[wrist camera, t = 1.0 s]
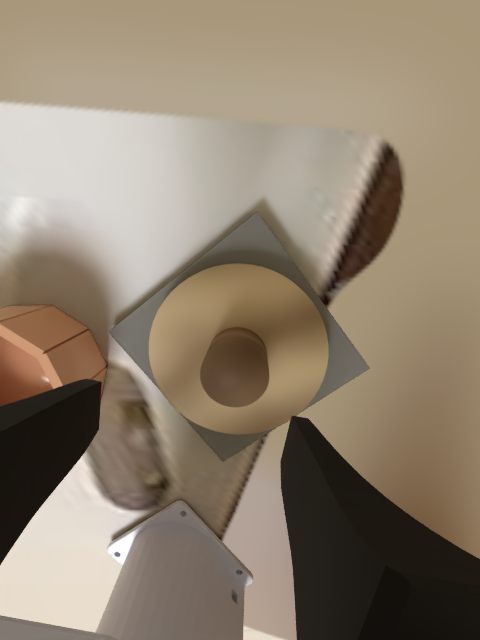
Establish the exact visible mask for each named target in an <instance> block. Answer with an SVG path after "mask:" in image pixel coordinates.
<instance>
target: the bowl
mask: <svg viewBox="0 0 480 640" xmlns="http://www.w3.org/2000/svg"><path fill="white" fill-rule="evenodd" d="M87 329H88V328H87V327H86V326H84V325H82V324H81V323H79V322H78V321H76V320H74V319H73V318H71V317H70V316H68V315H67V314H65V313H63V312H62V311H60V310H59V309H57V308H56V307H54V306H51V305H23V306H8V307H5V308H1V309H0V406H3V405H6V404H9V403H13V402H16V401H19V400H22V399H25V398H29V397H32V396H35V395H37V394H40V393H43V392H46V391H49V390H52V389H55V388H57V387H60V386H63V385H66V384H69V383H72V382H75V381H79V380H82V379H90V380H96V381H101V382H102V386H101V396H102V391H103V386H104V381H105V376H106V370H107V367H105V366H107V365H106V363H105V361H104V358H103V356H102V354H101V352H100V350H99V348H98V346H97V344H96V342H95V340H94V338H93V336H92V334H91V332H90V330H88V331H87Z"/></svg>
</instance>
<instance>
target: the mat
mask: <svg viewBox="0 0 480 640" xmlns="http://www.w3.org/2000/svg"><path fill="white" fill-rule="evenodd" d="M232 263H244V264H253V265H258V266H262V267H265V268H268V269H271V270H274V271H276V272H278V273H280V274H282V275H284V276H285V277H287V278H288V279H289V280H291V281H292V282H294V283H295V284H296V285H297V286H298V287H299V288H300V289H301V290H303V291H304V292H305V294H306V295H307V296H308V297H309V298H310V300H311V301H312V302H313V303H314V305H315V307H316V308H317V310H318V311H319V313H320V316H321V318H322V320H323V322H324V326H325V329H326V332H327V338H328V345H329V357H328V364H327V369H326V373H325V376H324V379H323V381H322V384H321V386H320V388H319V390H318V392H317V393H316V395H315V396H314V398H313V399H312V400H311V402H310V403H309V404H308V405H307V406H306V407H305V408H304V409H303V410H305V409H307V408H308V407H310V406H311V405H313V404H315V403H316V402H318V401H319V400H321V399H322V398H324V397H326V396H327V395H329V394H330V393H332V392H333V391H335V390H337V389H338V388H340V387H341V386H343V385H344V384H346V383H348V382H349V381H351V380H352V379H354V378H355V377H357V376H359V375H360V374H362V373H363V372H365V371H366V370H368V369H369V366H368V365H367V364H366V362H365V361H364V359H363V358H362V357H361V355H360V354H359V352H358V351H357V350H356V348H355V347H354V345H353V344H352V343H351V341H350V340H349V339H348V337H347V336H346V334H345V333H344V332H343V330H342V329H341V327H340V326H339V325H338V323H337V322H336V320H335V319H334V318H333V316H332V315H331V314H330V312H329V311H328V309H327V308H326V307H325V305H324V304H323V302H322V301H321V300H320V298H319V297H318V295H317V294H316V293H315V291H314V290H313V289H312V287H311V286H310V284H309V283H308V282H307V280H306V279H305V277H304V276H303V275H302V273H301V272H300V270H299V269H298V268H297V266H296V265H295V263H294V262H293V261H292V259H291V258H290V257H289V255H288V254H287V252H286V251H285V250H284V248H283V247H282V245H281V244H280V243H279V241H278V240H277V238H276V237H275V236H274V234H273V233H272V232H271V230H270V229H269V227H268V226H267V225H266V223H265V222H264V220H263V219H262V218H261V216H260V215H259V213H258V212H256V213H255V214H254V215H252V216H251V217H250V218H249V219H247V220H246V221H245V222H244V223H243V224H241V225H240V226H239V227H238V228H236V229H235V230H234V231H233V232H231V233H230V234H229V235H228V236H226V237H225V238H224V239H223V240H221V241H220V242H219V243H218V244H217V245H215V246H214V247H213V248H212V249H210V250H209V251H208V252H207V253H205V254H204V255H203V256H202V257H200V258H199V259H198V260H197V261H195V262H194V263H193V264H192V265H191V266H189V267H188V268H187V269H186V270H184V271H183V272H182V273H181V274H179V275H178V276H177V277H176V278H174V279H173V280H172V281H171V282H169V283H168V284H167V285H166V286H164V287H163V288H162V289H161V290H160V291H158V292H157V293H156V294H155V295H153V296H152V297H151V298H150V299H148V300H147V301H146V302H145V303H143V304H142V305H141V306H140V307H138V308H137V309H136V310H135V311H134V312H132V313H131V314H130V315H129V316H127V317H126V318H125V319H124V320H122V321H121V322H120V323H119V324H117V325H116V326H115V327H114V328H112V329H111V330H110V331H109V333H110V334H111V335H112V337H113V338H114V339H115V340H116V341H117V342H118V343H119V345H120V346H121V347H122V348H123V349H124V350H125V351H126V352H127V354H128V355H129V356H130V357H131V358H132V359H133V360H134V361H135V363H136V364H137V365H138V366H139V367H140V368H141V369H142V370H143V372H144V373H145V374H146V375H147V376H148V377H149V378H150V380H151V381H152V382H153V383H154V384H155V385H156V386H157V387H158V385H157V383H156V380H155V378H154V376H153V372H152V369H151V365H150V359H149V337H150V331H151V327H152V324H153V320H154V318H155V316H156V313H157V311H158V309H159V308H160V306H161V305H162V303H163V301H164V300H165V299H166V298H167V296H168V295H169V294H170V293H171V292H172V291H173V290H174V289H175V288H176V287H177V286H178V285H179V284H180V283H182V282H183V281H185V280H186V279H188V278H189V277H191V276H193V275H195V274H197V273H199V272H201V271H203V270H205V269H208V268H211V267H214V266H218V265H223V264H232ZM158 389H159V390H160V388H159V387H158ZM160 391H161V390H160ZM303 410H302V411H303ZM302 411H301V412H302ZM181 415H182V414H181ZM182 416H183V415H182ZM183 417H184V418H185V419H186V420H187V421H188V422H189V424H190V425H191V426H192V427H193V428H194V429H195V430H196V431H197V433H198V434H199V435H200V436H201V437H202V438H203V439H204V441H205V442H206V443H207V444H208V445H209V446H210V447H211V448H212V450H213V451H214V452H215V453H216V454H217V455H218V456H219V457H220V459H221V460H222V461H225V460H226V459H228V458H230V457H231V456H233V455H234V454H236V453H237V452H239V451H241V450H242V449H244V448H245V447H247V446H248V445H250V444H252V443H253V442H255V441H256V440H258V439H259V438H261V437H263V436H264V435H266V434H267V433H269V432H270V431H272V430H274V429H275V428H276V427H275V428H273V429H271V430H267V431H263V432H260V433H253V434H227V433H221V432H216V431H213V430H210V429H207V428H204V427H202V426H200V425H198V424H196V423H194V422H192V421H191V420H189V419H187V418H186V417H185V416H183Z"/></svg>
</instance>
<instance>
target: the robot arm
mask: <svg viewBox="0 0 480 640" xmlns="http://www.w3.org/2000/svg"><path fill="white" fill-rule="evenodd" d="M101 386H102V382H101V381H96V380H90V379H82V380H79V381H75V382H72V383H69V384H66V385H63V386H60V387H57V388H55V389H52V390H49V391H46V392H43V393H40V394H37V395H35V396H32V397H29V398H25V399H22V400H19V401H16V402H13V403H9V404H6V405H3V406H0V565H1V563H2V562H3V560H4V558H5V557H6V555H7V554H8V552H9V551H10V549H11V548H12V546H13V545H14V543H15V542H16V540H17V539H18V538H19V536H20V535H21V533H22V532H23V530H24V529H25V527H26V526H27V524H28V523H29V521H30V520H31V519H32V517H33V516H34V515H35V513H36V512H37V511H38V509H39V508H40V507H41V506H42V504H43V503H44V502H45V501H46V499H47V498H48V497H49V496H50V495H51V493H52V492H53V491H54V490H55V488H56V487H57V486H58V485H59V484H60V482H61V481H62V480H63V479H64V477H65V476H66V475H67V474H68V473H69V471H70V470H71V469H72V468H73V466H74V465H75V464H76V463H77V461H78V460H79V459H80V458H81V456H82V455H83V454H84V452H85V451H86V449H87V448H88V446H89V445H90V443H91V441H92V440H93V438H94V436H95V435H96V433H97V431H98V430H99V418H100V402H101ZM281 489H282V496H283V503H284V510H285V516H286V523H287V529H288V536H289V542H290V549H291V556H292V565H293V577H294V593H295V610H296V630H297V640H480V559H479V558H477V557H475V556H473V555H471V554H470V553H468V552H466V551H464V550H462V549H461V548H459V547H457V546H456V545H454V544H452V543H451V542H449V541H448V540H446V539H445V538H443V537H441V536H440V535H438V534H437V533H435V532H433V531H432V530H430V529H429V528H427V527H426V526H424V525H423V524H422V523H420V522H419V521H417V520H415V519H414V518H413V517H411V516H410V515H409V514H407V513H406V512H404V511H403V510H402V509H400V508H399V507H398V506H396V505H395V504H394V503H393V502H391V501H390V500H389V499H387V498H386V497H385V496H384V495H383V494H381V493H380V492H379V491H378V490H377V489H375V488H374V487H373V486H372V485H371V484H370V483H369V482H367V481H366V480H365V479H364V478H363V477H362V476H361V475H360V474H359V473H358V472H357V471H356V470H354V468H353V467H352V466H351V465H350V464H349V463H348V462H347V461H346V460H345V459H344V458H343V457H342V456H341V455H340V454H339V453H338V452H337V451H336V450H335V449H334V447H333V446H332V445H331V444H330V443H329V442H328V441H327V440H326V438H325V437H324V436H323V435H322V434H321V433H320V432H319V430H318V429H317V428H316V427H315V426H314V424H313V423H312V422H311V421H310V420H309V419H308V418H303V417H297V416H292V417H291V421H290V425H289V429H288V433H287V437H286V442H285V446H284V450H283V454H282V458H281ZM182 511H185V512H182ZM107 550H108V552H109V553H110V554H111V555H112V556H113V557H114V558H115V559H116V560H117V561H118V562H119V563H120V564H121V565H122V566H123V567H122V569H121V571H120V574H119V576H118V579H117V581H116V584H115V586H114V589H113V591H112V594H111V596H110V598H109V601H108V603H107V606H106V608H105V611H104V613H103V616H102V618H101V621H100V623H99V625H98V628H97V630H96V633H93V632H88V631H82V630H77V629H72V628H66V627H61V626H55V625H50V624H44V623H39V622H33V621H28V620H22V619H17V618H11V617H6V616H0V640H243V619H244V587H245V586H247V585H249V584H251V583H252V582H253V574H252V573H251V572H250V571H249V570H248V569H247V568H246V567H245V566H244V565H243V563H242V562H241V561H240V560H239V559H238V558H237V557H236V556H235V555H234V554H233V553H232V552H231V551H230V550H229V549H228V548H227V547H226V545H224V543H223V542H222V541H221V540H220V539H219V538H218V537H217V536H216V535H215V534H214V533H213V532H212V531H211V530H210V529H209V528H208V526H207V525H206V524H205V523H204V522H203V521H202V520H201V519H200V518H199V517H198V516H197V515H196V514H195V513H194V512H193V511H192V510H191V508H190V507H189V506H188V505H187V504H186V503H185V502H183V501H181V500H178V501H176V502H174V503H172V504H171V505H169V506H168V507H166V508H164V509H163V510H161V511H160V512H158V513H156V514H155V515H153V516H152V517H150V518H148V519H147V520H145V521H144V522H142V523H141V524H139V525H137V526H136V527H134V528H133V529H131V530H129V531H128V532H126V533H125V534H123V535H121V536H120V537H118V538H117V539H115V540H113V541H112V542H110V543H109V545H108V548H107Z"/></svg>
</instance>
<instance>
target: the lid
mask: <svg viewBox="0 0 480 640" xmlns="http://www.w3.org/2000/svg"><path fill="white" fill-rule="evenodd" d="M328 357H329V345H328V338H327V332H326V329H325V326H324V322H323V320H322V318H321V316H320V313H319V311H318V310H317V308H316V307H315V305H314V303H313V302H312V301H311V300H310V298H309V297H308V296H307V295H306V294H305V292H304V291H303V290H301V289H300V288H299V287H298V286H297V285H296V284H295V283H294V282H292V281H291V280H289V279H288V278H287V277H285V276H284V275H282V274H280V273H278V272H276V271H274V270H271V269H268V268H265V267H262V266H258V265H253V264H244V263H232V264H223V265H218V266H214V267H211V268H208V269H205V270H203V271H201V272H199V273H197V274H195V275H193V276H191V277H189V278H188V279H186V280H185V281H183V282H182V283H180V284H179V285H178V286H177V287H176V288H175V289H174V290H173V291H172V292H171V293H170V294H169V295H168V296H167V298H166V299H165V300H164V301H163V303H162V305H161V306H160V308H159V309H158V311H157V313H156V316H155V318H154V320H153V324H152V327H151V331H150V337H149V359H150V365H151V369H152V372H153V376H154V378H155V380H156V383H157V385H158V387H159V388H160V390H161V392H162V393H163V395H164V396H165V398H166V399H167V400H168V401H169V403H170V404H171V405H172V406H173V407H174V408H175V409H176V410H177V411H178V412H180V413H181V414H182V415H183V416H185V417H186V418H187V419H189V420H191V421H192V422H194V423H196V424H198V425H200V426H202V427H204V428H207V429H210V430H213V431H216V432H221V433H227V434H253V433H260V432H263V431H267V430H271V429H273V428H275V427H278V426H280V425H282V424H284V423H286V422H288V421H289V420H291V417H292V416H296V415H298V414H299V413H300V412H301V411H302V410H303V409H304V408H305V407H306V406H307V405H308V404H309V403H310V402H311V400H312V399H313V398H314V396H315V395H316V393H317V392H318V390H319V388H320V386H321V384H322V381H323V379H324V376H325V373H326V369H327V364H328Z"/></svg>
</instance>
